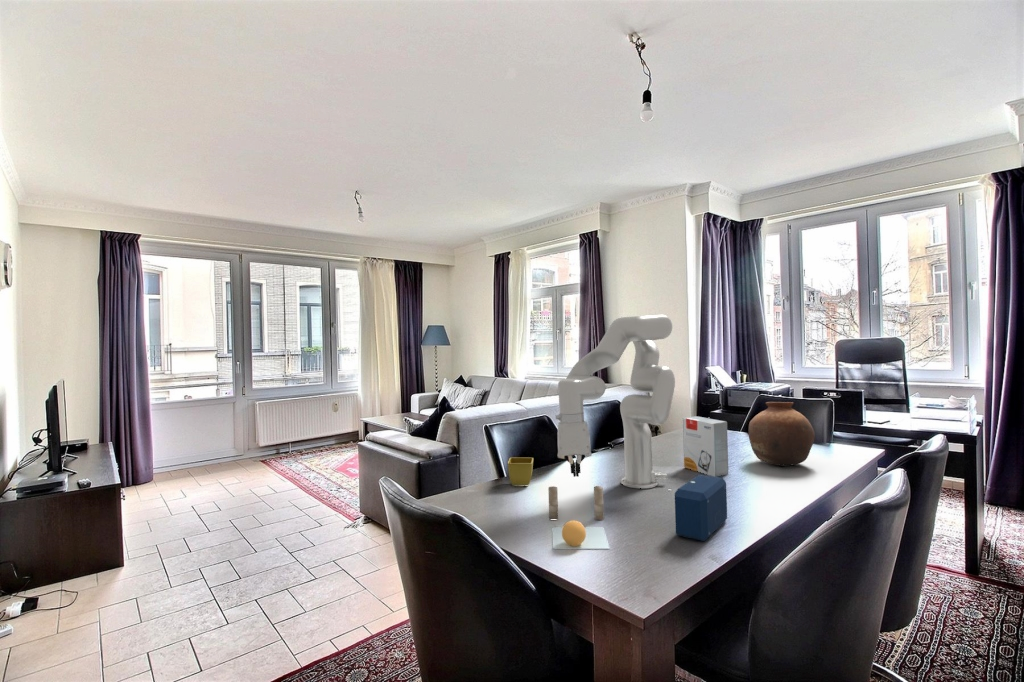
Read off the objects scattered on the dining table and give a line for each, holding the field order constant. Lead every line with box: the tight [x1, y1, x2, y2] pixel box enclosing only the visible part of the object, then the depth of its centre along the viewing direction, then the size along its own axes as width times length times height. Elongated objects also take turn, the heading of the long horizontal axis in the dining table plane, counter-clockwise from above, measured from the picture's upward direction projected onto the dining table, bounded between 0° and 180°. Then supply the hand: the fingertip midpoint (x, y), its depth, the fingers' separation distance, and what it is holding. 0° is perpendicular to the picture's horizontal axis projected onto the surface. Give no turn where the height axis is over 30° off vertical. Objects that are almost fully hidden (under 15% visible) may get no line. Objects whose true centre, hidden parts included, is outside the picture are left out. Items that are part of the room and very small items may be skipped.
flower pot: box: [507, 457, 534, 486], centre depth 178 cm, size 9×9×9 cm
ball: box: [562, 520, 586, 546], centre depth 124 cm, size 6×6×6 cm
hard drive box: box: [682, 415, 729, 477], centre depth 189 cm, size 16×8×20 cm, turn 25°
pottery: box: [748, 401, 816, 467], centre depth 195 cm, size 23×23×25 cm
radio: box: [674, 451, 728, 542], centre depth 133 cm, size 21×9×20 cm, turn 141°
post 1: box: [547, 485, 559, 520], centre depth 143 cm, size 3×3×9 cm
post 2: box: [593, 485, 605, 521], centre depth 142 cm, size 3×3×9 cm
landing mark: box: [551, 526, 611, 550], centre depth 129 cm, size 14×14×1 cm
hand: (575, 475), depth 156 cm, fingers closed
